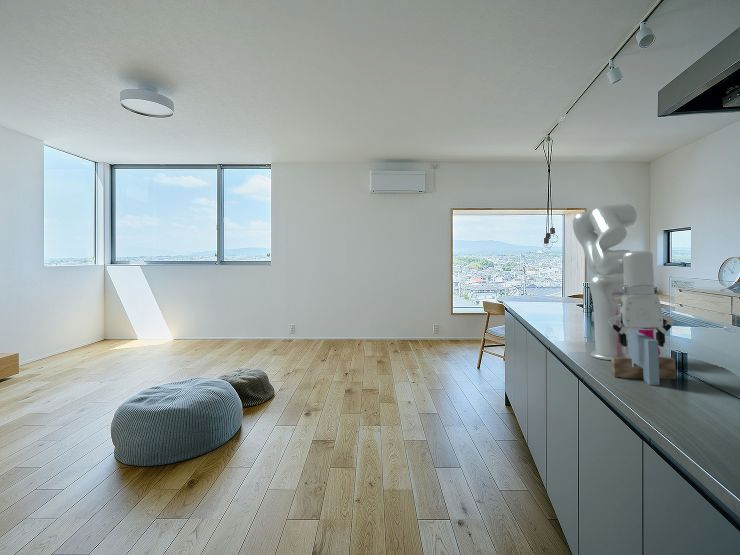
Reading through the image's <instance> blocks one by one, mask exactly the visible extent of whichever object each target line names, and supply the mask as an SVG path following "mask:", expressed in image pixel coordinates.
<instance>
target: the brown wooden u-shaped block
mask: <svg viewBox="0 0 740 555" xmlns="http://www.w3.org/2000/svg"><path fill="white" fill-rule="evenodd" d="M610 362H611V375H612V377H613V378H616V377H621V378H623V379H626V378H627V379H644V377H643V369H642V368H641V367H639V366H632V359H631V358H630V357H611V360H610ZM676 369H677V367H676V359H675V358H673V357H670V356H669V357H668V356H667V357H666V356H665V357H663V356H662V357H661V356H659V378H661V379H662V378H663V379H662V380H665V379H666V380H670V379H671V380H677V373H676ZM661 379H660V380H661Z"/></svg>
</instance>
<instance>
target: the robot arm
mask: <svg viewBox="0 0 740 555" xmlns="http://www.w3.org/2000/svg"><path fill="white" fill-rule="evenodd" d="M636 221H637V211H636V209H635V207H634V206H633V205H631V204H629V203H619V204H608V205H607V204H606V205H600V206H598V207H597V206H596V207H595V208H594V209H592V210H587V211H586V210H585V211H581V212H579V213H576V214H575V215H574V216H573V220H572V227H573V230H572V231H573V233H574V235H575V238H576V239H577V241H578V243H579V244H580V245H581V247H582V250H583V254H584V256H585V261H586V263H587V266H588V269H589V271H590V272H591V274H593V275H594V276H593V277H592V278H591V279H590V280H589V290H590V295H591V299H592V304H593V305H592V307H593V321H594V322H593V323H594V343H595V350H593V351H591V353H590V356H592V357H593V358H596V359H600V360H606V361H607V360H608V361H611V357H629V356H628V352H626V347H628V340H627V334H626V332H627V331H628V329H637V328H655V329H654V330H656V332H655V340H657V341H658V347H661V348H663V347H664V346H665V344H666V334H667V332H668V331H669V330H670V329H671V328H672V325H674V323H675V321H676V319H675V318H673V317H670V316H668V315H666V314H664V313H663V308H662V305H661V301H660V298H659V295H657V294H655V278H654V276H655V275H654V257H653V253H652V252H651V251H648V250H634V251H633V250H632V251H631V250H628V249H615V250H613V249H610V248H613V247H615V246H617V245H619V244H621V243H622V242H623V241H624V240H625V239H626V237H627V236H628V232H627V231H628V230H627V229H626V228H629V227H631V226H633V225H634V224H635V223H636ZM619 299H620V303H618V302H617V301H616V300H619ZM664 320H665V323H664Z"/></svg>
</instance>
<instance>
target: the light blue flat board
mask: <svg viewBox="0 0 740 555" xmlns="http://www.w3.org/2000/svg"><path fill="white" fill-rule="evenodd" d="M658 347H659V346H658V341H657V340H656V338H654V339H653V338H651V337H648V336H646V335H644V334H642V333H639V331H637V330H627V353H628V356H629V357H630V358H631V359H632V366H639V367H641V368H642V369H643V377H644V378H643V381H644V382H645V383H646V382H647V383H646V384H648V385H649V386H661V385H660V383H661V382H660V379H659V357H660V355H659V356H658Z"/></svg>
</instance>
